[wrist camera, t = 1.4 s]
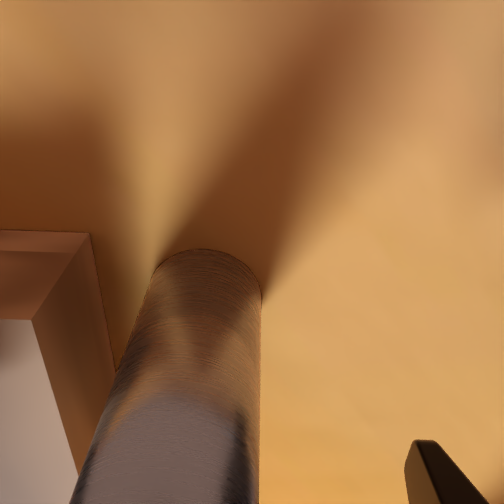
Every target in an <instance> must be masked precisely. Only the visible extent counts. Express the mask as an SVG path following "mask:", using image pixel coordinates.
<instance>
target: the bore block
mask: <svg viewBox="0 0 504 504" xmlns="http://www.w3.org/2000/svg"><path fill="white" fill-rule="evenodd" d="M115 377H116V371H115V366H114V361H113V355H112V350H111V345H110V340H109V334H108V329H107V324H106V319H105V313H104V308H103V303H102V297H101V292H100V287H99V282H98V276H97V271H96V266H95V261H94V255H93V250H92V245H91V239H90V234H89V233H79V232H49V231H20V230H0V504H69V502H70V499H71V496H72V494H73V491H74V488H75V485H76V483H77V480H78V477H79V474H80V472H81V469H82V466H83V464H84V461H85V458H86V455H87V453H88V450H89V447H90V445H91V442H92V439H93V436H94V434H95V431H96V428H97V425H98V423H99V420H100V417H101V415H102V412H103V409H104V406H105V404H106V401H107V398H108V396H109V393H110V390H111V387H112V385H113V382H114V379H115Z"/></svg>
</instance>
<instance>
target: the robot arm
mask: <svg viewBox="0 0 504 504" xmlns="http://www.w3.org/2000/svg"><path fill="white" fill-rule="evenodd" d="M404 474H405V481H406V487H407V494H408V500H409V504H489V503H488V502H487V500H486V499H485V498H484V497H483V496H482V495H481V493H480V492H479V491H478V490H477V489H476V487H475V486H474V485H473V484H472V483H471V482H470V480H469V479H468V478H467V477H466V476H465V475H464V473H463V472H462V471H461V470H460V469H459V467H458V466H457V465H456V464H455V463H454V462H453V460H452V459H451V458H450V457H449V456H448V454H447V453H446V452H445V451H444V450H443V449H442V447H441V446H440V445H439V444H438V443H437V442H435V441H433V440H414V441H413V442H412V444H411V447H410V450H409V453H408V456H407V459H406V462H405V467H404Z"/></svg>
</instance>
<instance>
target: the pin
mask: <svg viewBox="0 0 504 504" xmlns="http://www.w3.org/2000/svg"><path fill="white" fill-rule="evenodd" d="M260 347H261V291H260V287H259V284H258V281H257V279H256V278H255V276H254V274H253V273H252V272H251V270H250V269H249V268H248V267H247V266H246V265H244V264H243V263H242V262H241V261H239V260H238V259H236V258H234V257H232V256H230V255H228V254H225V253H222V252H219V251H214V250H207V249H195V250H188V251H184V252H180V253H178V254H175V255H173V256H171V257H170V258H168V259H167V260H165V261H164V262H163V263H162V264H161V265H160V266H159V267H158V268H157V269H156V271H155V272H154V274H153V276H152V279H151V281H150V284H149V287H148V289H147V292H146V295H145V298H144V300H143V303H142V306H141V308H140V311H139V314H138V317H137V319H136V322H135V325H134V328H133V330H132V333H131V336H130V338H129V341H128V344H127V347H126V349H125V352H124V355H123V357H122V360H121V363H120V366H119V368H118V371H117V374H116V377H115V379H114V382H113V385H112V387H111V390H110V393H109V396H108V398H107V401H106V404H105V406H104V409H103V412H102V415H101V417H100V420H99V423H98V425H97V428H96V431H95V434H94V436H93V439H92V442H91V445H90V447H89V450H88V453H87V455H86V458H85V461H84V464H83V466H82V469H81V472H80V474H79V477H78V480H77V483H76V485H75V488H74V491H73V494H72V496H71V499H70V502H69V504H259V439H260Z"/></svg>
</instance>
